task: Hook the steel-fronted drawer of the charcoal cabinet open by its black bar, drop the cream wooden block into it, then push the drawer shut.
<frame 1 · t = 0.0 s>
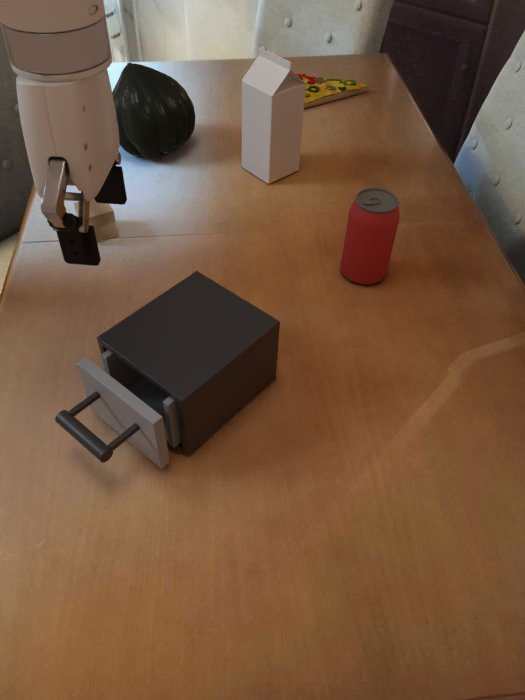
hand: (98, 230, 57), 20 cm above the table, tool pointing down, fingers open, 9 cm apart
beer can: (362, 272, 85), on the table
cabinet: (195, 387, 70), on the table
block: (98, 232, 90), on the table
drawer: (150, 392, 63), point 5 cm above the table, slide at 2.0 cm
squash: (153, 148, 108), on the table
pizza slice: (319, 95, 124), on the table
milk carton: (270, 170, 103), on the table
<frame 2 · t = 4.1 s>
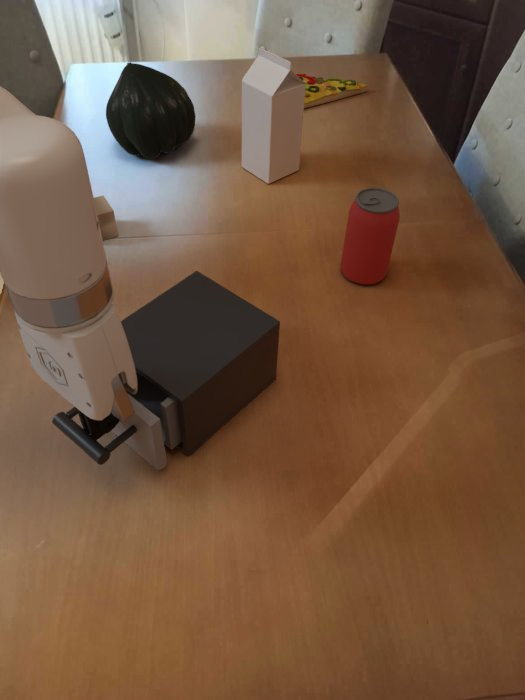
hand: (102, 426, 59), 5 cm above the table, tool pointing down, fingers closed
drawer: (148, 393, 63), point 5 cm above the table, slide at 2.3 cm
everything else where it was.
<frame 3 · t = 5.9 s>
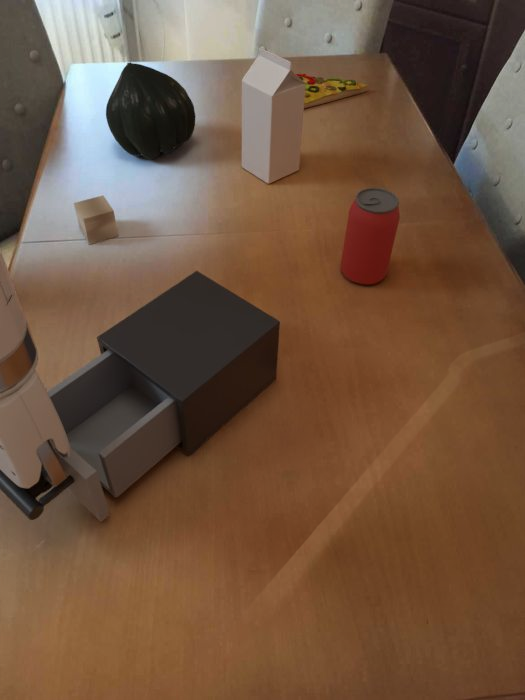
hand: (41, 484, 56), 4 cm above the table, tool pointing down, fingers closed
drawer: (91, 438, 59), point 5 cm above the table, slide at 9.8 cm, touching gripper
everything else where it was.
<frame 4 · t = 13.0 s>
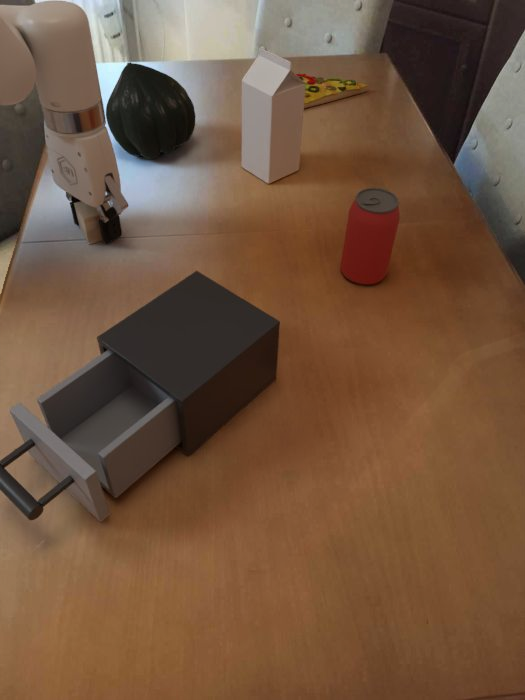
hand: (98, 229, 89), 1 cm above the table, tool pointing down, fingers closed on block, 5 cm apart
block: (99, 232, 90), on the table, touching gripper
drawer: (91, 438, 59), point 5 cm above the table, slide at 9.8 cm
everything else where it was.
when the fingers open (11 cm above the table, at t = 19.8 s): block drops 9 cm, resting on drawer.
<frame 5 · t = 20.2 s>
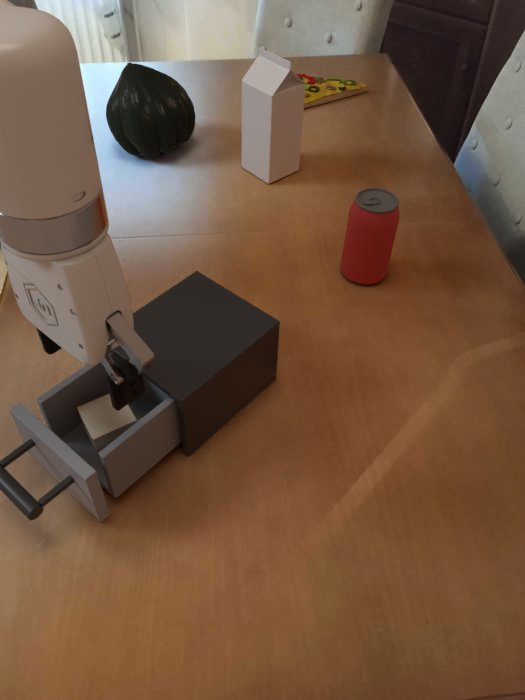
hand: (93, 371, 54), 13 cm above the table, tool pointing down, fingers open, 9 cm apart
block: (113, 439, 62), point 2 cm above the table, touching drawer
drawer: (91, 438, 59), point 5 cm above the table, slide at 9.8 cm, touching block
everything else where it was.
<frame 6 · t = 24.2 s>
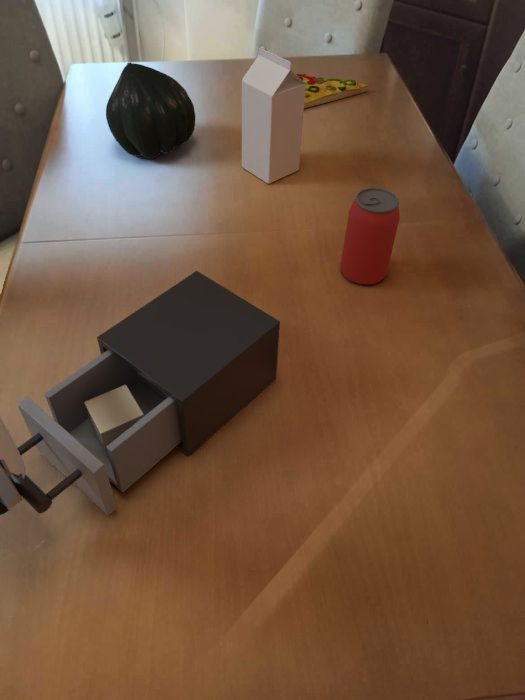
hand: (1, 504, 53), 6 cm above the table, tool pointing down, fingers closed
drawer: (98, 432, 59), point 5 cm above the table, slide at 8.9 cm, touching block
everything else where it was.
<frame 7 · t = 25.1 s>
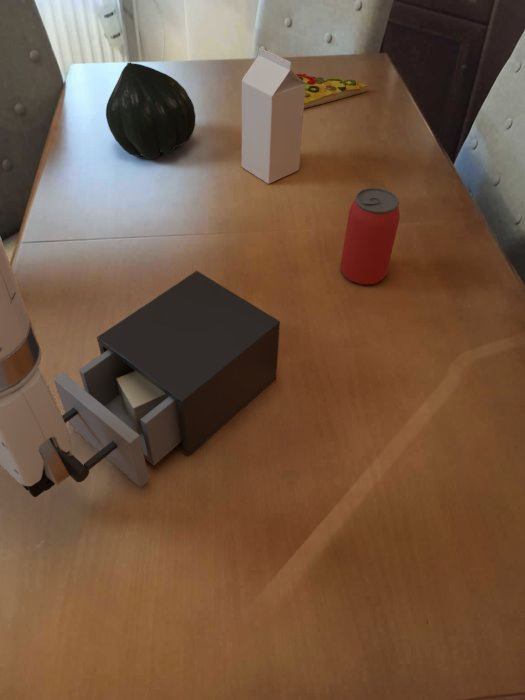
hand: (43, 482, 56), 4 cm above the table, tool pointing down, fingers closed
block: (149, 410, 65), point 2 cm above the table, touching drawer
drawer: (130, 408, 62), point 5 cm above the table, slide at 4.8 cm, touching block, gripper
everything else where it was.
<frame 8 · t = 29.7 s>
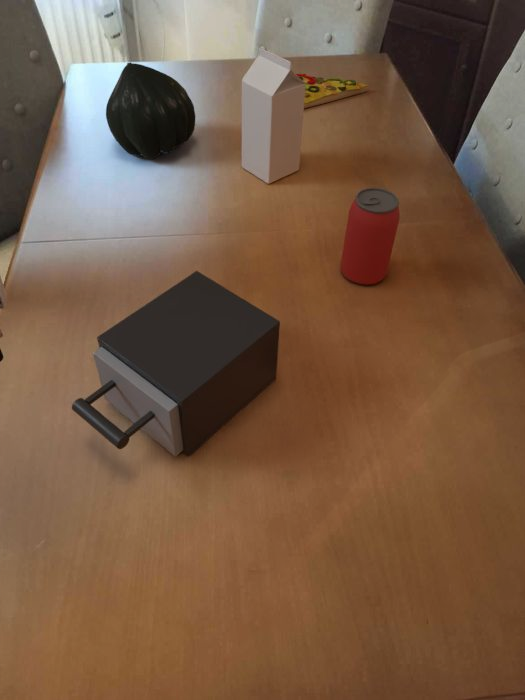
block: (181, 385, 67), point 2 cm above the table, touching drawer
drawer: (164, 381, 64), point 5 cm above the table, slide at 0.0 cm, touching block, cabinet
everything else where it was.
at the end: block inside the target area in the cabinet (1.9 cm from its centre), point 2.0 cm above the cabinet's base; drawer slide at 0.0 cm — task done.
